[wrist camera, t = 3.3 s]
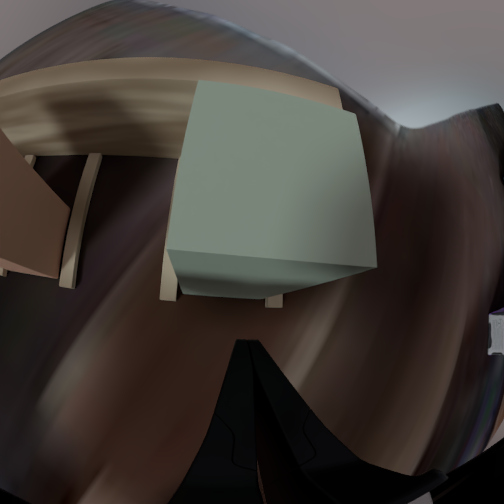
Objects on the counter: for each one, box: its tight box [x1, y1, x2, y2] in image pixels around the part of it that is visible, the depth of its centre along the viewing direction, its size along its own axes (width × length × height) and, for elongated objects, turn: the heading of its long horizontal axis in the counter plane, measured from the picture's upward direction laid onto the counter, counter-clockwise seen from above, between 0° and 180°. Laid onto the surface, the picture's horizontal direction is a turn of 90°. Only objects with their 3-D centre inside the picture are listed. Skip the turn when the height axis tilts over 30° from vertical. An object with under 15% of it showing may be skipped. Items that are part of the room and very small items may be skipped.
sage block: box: [166, 80, 377, 299], centre depth 12 cm, size 5×5×12 cm
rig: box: [0, 57, 343, 308], centre depth 14 cm, size 12×24×8 cm, turn 87°
